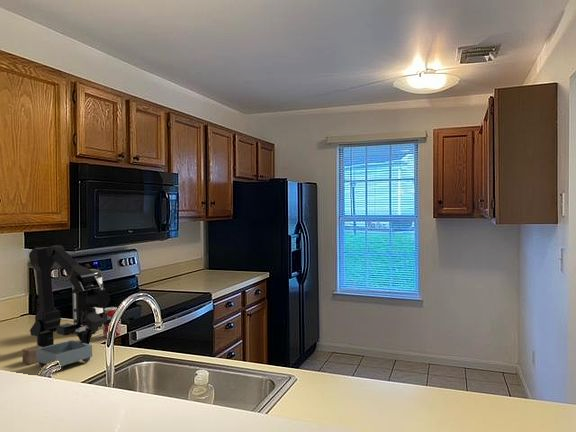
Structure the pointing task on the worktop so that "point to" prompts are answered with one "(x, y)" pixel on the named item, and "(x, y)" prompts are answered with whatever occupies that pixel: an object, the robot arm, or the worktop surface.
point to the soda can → (110, 313)
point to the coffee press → (99, 278)
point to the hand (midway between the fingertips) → (85, 348)
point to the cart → (64, 353)
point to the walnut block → (30, 355)
